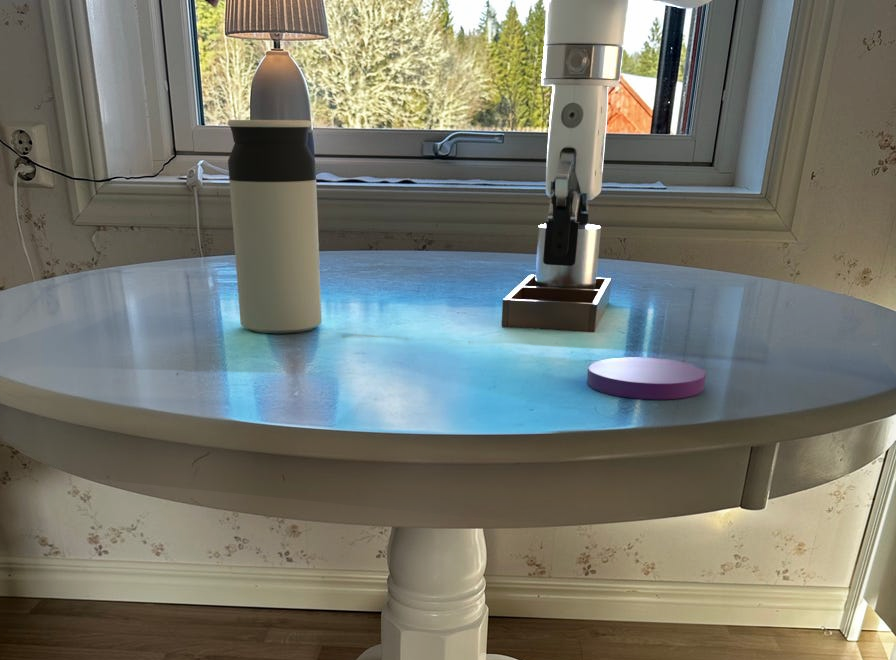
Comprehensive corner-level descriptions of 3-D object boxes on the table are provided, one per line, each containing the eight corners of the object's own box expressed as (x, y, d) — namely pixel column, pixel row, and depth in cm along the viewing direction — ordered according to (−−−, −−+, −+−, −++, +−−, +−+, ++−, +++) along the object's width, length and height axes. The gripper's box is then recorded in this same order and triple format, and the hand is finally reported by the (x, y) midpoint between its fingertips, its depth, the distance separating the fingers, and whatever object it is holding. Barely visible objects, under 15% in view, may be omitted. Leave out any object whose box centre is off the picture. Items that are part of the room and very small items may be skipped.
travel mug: (313, 335, 91) (304, 120, 82) (231, 333, 91) (214, 119, 83) (327, 320, 98) (320, 120, 89) (251, 318, 98) (237, 119, 90)
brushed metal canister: (596, 303, 105) (603, 224, 101) (590, 313, 99) (598, 230, 95) (538, 300, 106) (543, 222, 102) (529, 310, 101) (534, 228, 97)
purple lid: (703, 375, 78) (705, 361, 77) (703, 403, 70) (706, 387, 70) (592, 368, 80) (593, 354, 79) (581, 394, 72) (582, 379, 72)
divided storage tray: (608, 308, 106) (611, 278, 104) (594, 338, 91) (597, 304, 89) (527, 303, 108) (529, 274, 106) (500, 332, 93) (502, 299, 91)
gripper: (614, 65, 84) (592, 272, 92) (626, 73, 99) (607, 250, 107) (529, 64, 86) (516, 267, 94) (554, 72, 100) (540, 247, 108)
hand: (564, 258), depth 100 cm, fingers open, 9 cm apart
